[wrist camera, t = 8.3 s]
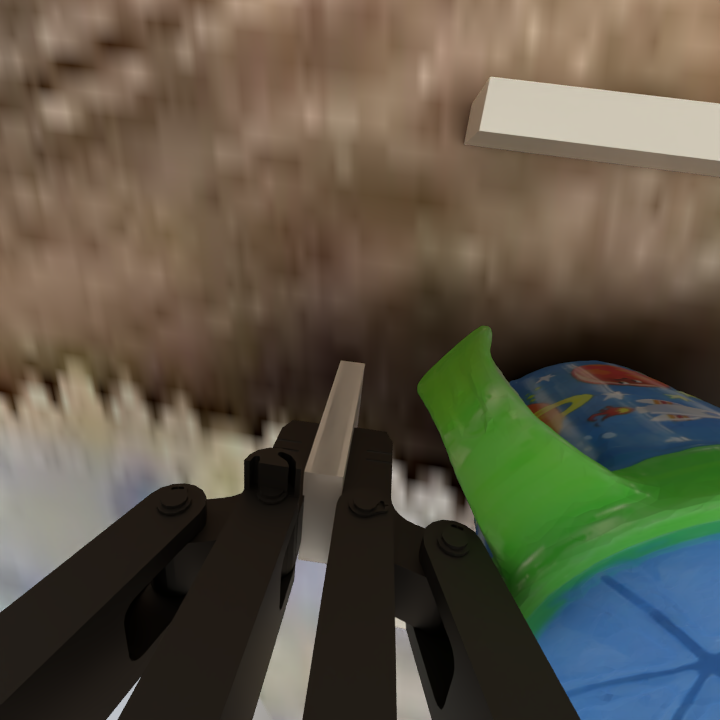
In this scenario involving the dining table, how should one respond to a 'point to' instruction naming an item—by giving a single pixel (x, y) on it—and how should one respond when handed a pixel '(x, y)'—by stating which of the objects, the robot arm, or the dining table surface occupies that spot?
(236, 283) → the dining table surface
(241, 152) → the dining table surface
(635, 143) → the fence
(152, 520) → the robot arm
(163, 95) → the dining table surface
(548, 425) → the snack cup
